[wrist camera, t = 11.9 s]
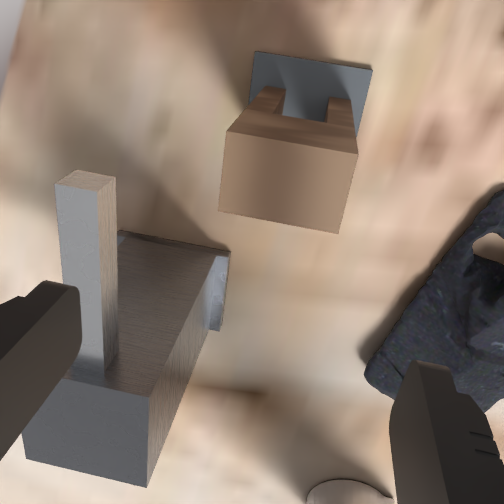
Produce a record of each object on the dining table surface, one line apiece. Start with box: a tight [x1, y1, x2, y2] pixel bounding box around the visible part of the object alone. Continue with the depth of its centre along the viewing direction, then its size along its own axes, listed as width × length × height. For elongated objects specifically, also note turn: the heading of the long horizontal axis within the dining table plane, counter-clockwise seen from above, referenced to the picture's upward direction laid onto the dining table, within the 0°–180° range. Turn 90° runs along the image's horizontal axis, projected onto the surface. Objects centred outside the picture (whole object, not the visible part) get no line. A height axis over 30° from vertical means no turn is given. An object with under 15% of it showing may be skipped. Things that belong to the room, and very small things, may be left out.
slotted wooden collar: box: [218, 86, 358, 234], centre depth 27 cm, size 6×4×13 cm, turn 82°
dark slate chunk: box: [364, 190, 504, 413], centre depth 37 cm, size 15×22×5 cm
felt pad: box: [248, 51, 373, 137], centre depth 33 cm, size 8×8×1 cm
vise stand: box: [22, 170, 231, 488], centre depth 32 cm, size 16×19×17 cm
